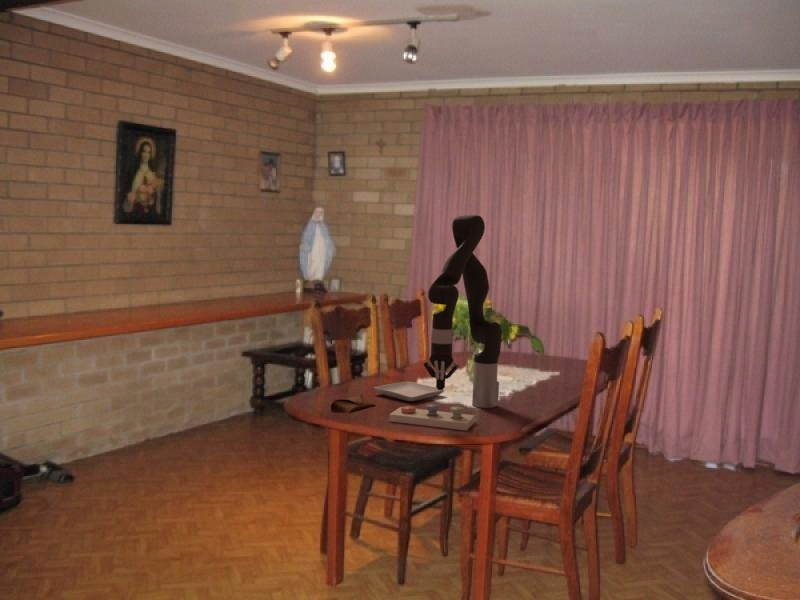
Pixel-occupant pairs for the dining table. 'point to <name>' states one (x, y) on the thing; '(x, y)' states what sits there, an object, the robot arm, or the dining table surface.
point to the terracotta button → (408, 409)
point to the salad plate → (408, 391)
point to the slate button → (432, 409)
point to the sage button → (457, 412)
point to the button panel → (433, 419)
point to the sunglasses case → (351, 404)
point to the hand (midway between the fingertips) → (440, 389)
